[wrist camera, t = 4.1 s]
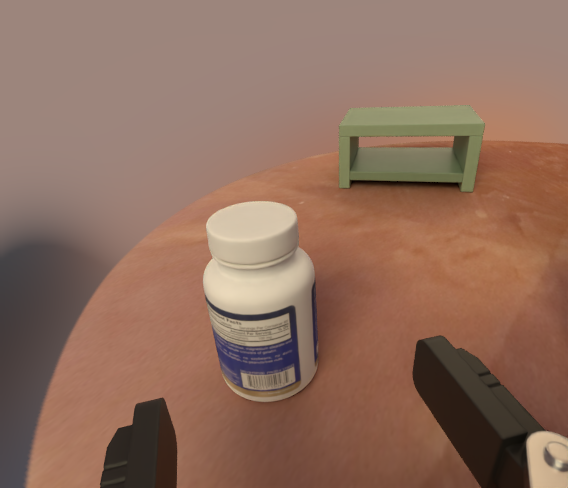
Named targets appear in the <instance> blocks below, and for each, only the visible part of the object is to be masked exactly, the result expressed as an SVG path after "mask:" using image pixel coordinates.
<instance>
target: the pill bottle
mask: <svg viewBox="0 0 568 488" xmlns="http://www.w3.org/2000/svg"><path fill="white" fill-rule="evenodd" d="M206 230H207V236H208V243H209V249H210V251H211V255H212V257H213V258H212V259H211V261H210V262H209V264H208V265H207V267H206V269H205V271H204V275H203V287H204V292H205V297H206V302H207V307H208V311H209V316H210V320H211V324H212V329H213V334H214V338H215V343H216V347H217V352H218V357H219V361H220V366H221V370H222V374H223V377H224V380H225V382H226V383H227V385H228V386H229V387H230V388H231V389H232V390H233V391H234V392H235V393H236V394H238V395H240V396H241V397H244V398H246V399H249V400H252V401H258V402H273V401H278V400H283V399H286V398H288V397H291V396H293V395H295V394H296V393H298V392H299V391H301V390H302V389H303V388H305V387H306V386H307V385H308V384H309V383H310V381H311V380H312V378H313V377H314V375H315V373H316V370H317V366H318V331H317V309H316V286H315V272H314V266H313V263H312V261H311V259H310V257H309V256H308V254H307V253H306V252H305V251H303V250H302V249H301V248H299V247H298V245H299V240H298V239H299V233H298V222H297V215H296V213H295V211H294V210H293V209H292V208H290V207H289V206H286V205H284V204H281V203H276V202H269V201H254V202H245V203H239V204H235V205H232V206H229V207H226V208H223V209H221V210H219V211H217V212H216V213H214V214H213V215H212V216H211V217H210V218H209V219H208V221H207V224H206Z"/></svg>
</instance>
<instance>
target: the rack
mask: <svg viewBox="0 0 568 488" xmlns="http://www.w3.org/2000/svg"><path fill="white" fill-rule="evenodd" d="M484 127H485V123H484V122H483V121H482V120H481V118H480V117H479V116H478V115H477V114H476V113H475V111H474V110H473V109H472V108H471V106H470V105H462V106H421V107H381V108H350V109H349V111H348V112H347V114H346V116H345V117H344V119H343V120H342V122H341V124H340V125H339V188H350V185H351V182H352V180H375V181H417V182H458V185H459V188H460V191H461V192H473V189H474V183H475V177H476V172H477V166H478V161H479V155H480V150H481V144H482V138H483V133H484ZM360 136H361V137H375V136H377V137H378V136H454V143H453V148H358V144H359V137H360Z"/></svg>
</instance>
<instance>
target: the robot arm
mask: <svg viewBox="0 0 568 488" xmlns="http://www.w3.org/2000/svg"><path fill="white" fill-rule="evenodd" d="M413 380H414V384H415V387H416V389H417V391H418V393H419V395H420V396H421V398H422V399H423V401H424V402H425V404H426V405H427V407H428V408H429V410H430V411H431V413H432V414H433V416H434V417H435V419H436V420H437V422H438V423H439V425H440V426H441V428H442V429H443V431H444V432H445V434H446V435H447V437H448V438H449V440H450V441H451V443H452V444H453V446H454V447H455V449H456V450H457V452H458V453H459V455H460V456H461V458H462V459H463V461H464V462H465V464H466V465H467V467H468V468H469V470H470V471H471V473H472V474H473V476H474V477H475V479H476V480H477V482H478V483H479V485H480V486H481V488H568V438H566V437H564V436H562V435H560V434H557V433H554V432H549V431H546V430H545V429H544V428H542V427H541V426H540V425H539V423H538V422H537V421H536V420H535V419H534V418H533V417H532V416H531V415H530V414H529V413H528V412H527V411H526V409H525V408H524V407H523V406H522V405H521V404H520V403H519V402H518V401H517V400H516V399H515V398H514V396H513V395H512V394H511V393H510V392H509V391H508V390H507V389H506V388H505V387H504V386H503V385H501V384H500V381H499V380H498V379H497V378H496V377H495V376H494V375H493V374H491V373H490V371H489V370H488V368H487V367H486V366H485V365H484V364H483V363H482V362H481V361H480V360H479V359H478V358H477V357H475V356H474V355H472V354H470V353H469V352H467V351H465V350H464V349H462V348H460V349H455V348H454V347H453V346H452V345H451V344H450V343H449V341H448V340H447V339H446V338H445V337H443V336H435V337H431V338H426V339H422V340H419V341H418V342H417V344H416V351H415V359H414V367H413ZM103 468H104V471H103V472H102V477H101V483H100V485H101V487H100V488H177V442H176V435H175V430H174V427H173V424H172V421H171V418H170V415H169V412H168V409H167V406H166V402H165V400H164V398H159V399H155V400H151V401H146V402H142V403H138V404H136V406H135V410H134V417H133V424H132V425H130V426H126V427H122V428H118V430H117V431H116V433H115V435H114V437H113V438H112V440H111V442H110V443H109V445H108V447H107V451H106V456H105V462H104V467H103Z"/></svg>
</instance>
